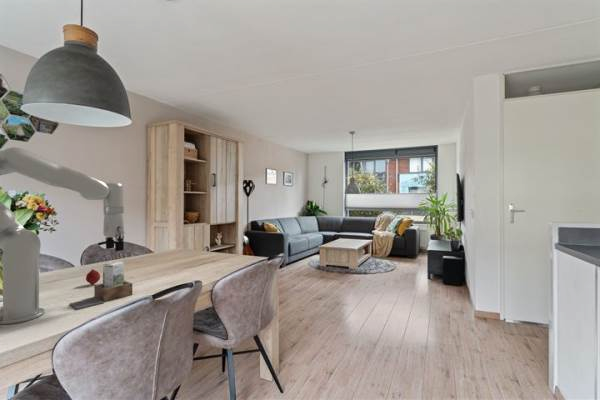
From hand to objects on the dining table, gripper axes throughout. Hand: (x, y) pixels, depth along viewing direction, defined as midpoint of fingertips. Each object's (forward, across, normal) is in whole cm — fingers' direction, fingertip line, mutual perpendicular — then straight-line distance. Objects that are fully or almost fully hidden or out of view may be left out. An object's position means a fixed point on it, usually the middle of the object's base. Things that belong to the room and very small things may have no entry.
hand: (114, 249), depth 131 cm
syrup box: (+20, 0, -1) cm, 21 cm away
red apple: (+20, -27, 0) cm, 34 cm away
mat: (+20, +3, -12) cm, 23 cm away
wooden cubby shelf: (+20, 0, -1) cm, 20 cm away
